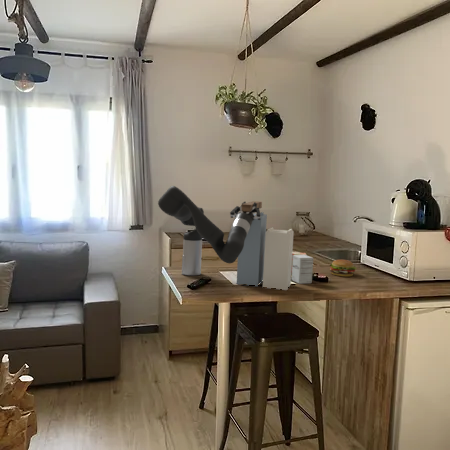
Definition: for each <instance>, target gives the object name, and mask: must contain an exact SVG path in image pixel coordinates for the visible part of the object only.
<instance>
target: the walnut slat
mask: <svg viewBox="0 0 450 450" xmlns="http://www.w3.org/2000/svg"><path fill="white" fill-rule="evenodd" d="M254 202H256V203H257V208H259V210H260V209H262V208H263V207H262V206H263V201H255V200H253V201H249V202H246V203H244V202H243V203H244V204H242V203H241V205H242V206H241V205H240V206H241V210H243V211H246V212H247V211H250V210H251V209H252V207H253V204H254Z"/></svg>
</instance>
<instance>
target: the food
mask: <svg viewBox="0 0 450 450" xmlns="http://www.w3.org/2000/svg"><path fill="white" fill-rule="evenodd" d="M357 269H358V267H356V266H355V265H354V263H353V262H352V261H350V260H347V259H341V258H339V259H336V260H333V261H332V263H330V264H329V272H330V274H332V275H333V276H337V277H343V278H344V277H345V278H346V277H347V278H348V277H353V276H354V273H355V272H356V270H357Z"/></svg>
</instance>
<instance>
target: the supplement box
mask: <svg viewBox="0 0 450 450" xmlns="http://www.w3.org/2000/svg"><path fill="white" fill-rule="evenodd" d="M313 267H314V257H312V256H309V255H307V254H306V255H293V267H292V277H291V281H293V282H295V283H297V284H300V285H301V284H312V281H313V269H314V268H313Z"/></svg>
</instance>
